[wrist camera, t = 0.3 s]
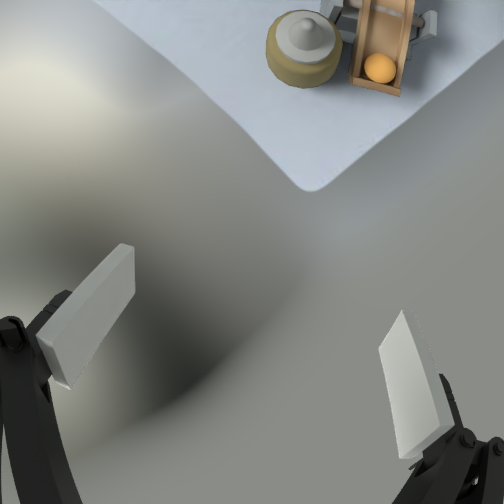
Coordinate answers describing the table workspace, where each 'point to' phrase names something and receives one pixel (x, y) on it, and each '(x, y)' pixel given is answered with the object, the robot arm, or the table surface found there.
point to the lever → (381, 38)
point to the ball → (380, 68)
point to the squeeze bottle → (303, 48)
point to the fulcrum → (348, 20)
